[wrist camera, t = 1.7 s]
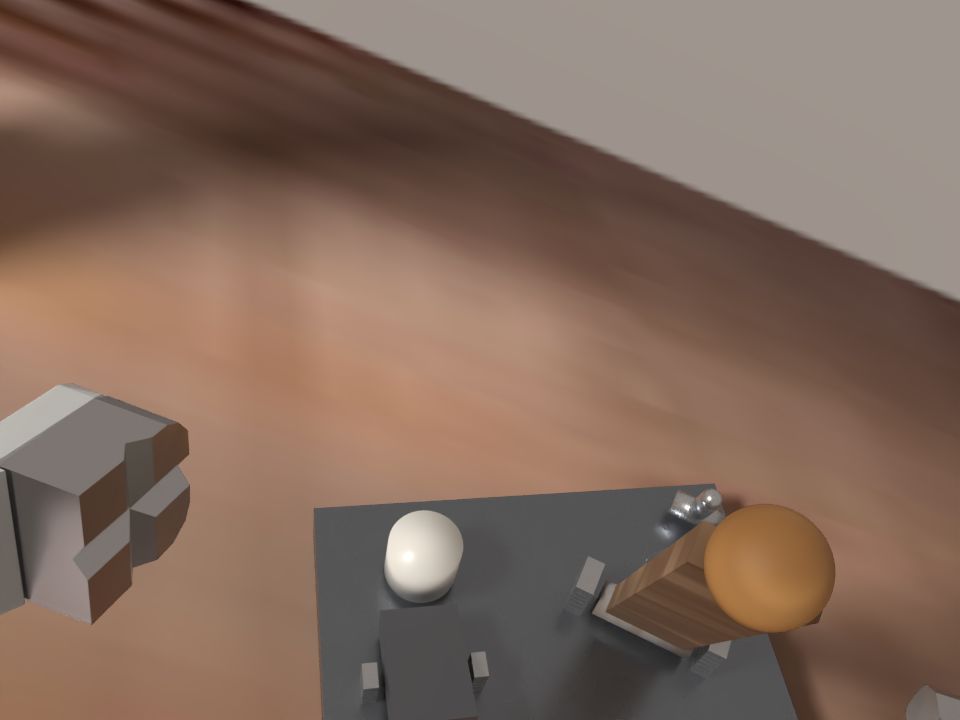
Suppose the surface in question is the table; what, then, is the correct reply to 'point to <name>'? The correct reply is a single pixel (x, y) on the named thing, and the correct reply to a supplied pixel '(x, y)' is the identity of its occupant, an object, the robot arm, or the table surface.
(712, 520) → the stub toggle
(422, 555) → the button
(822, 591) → the lever
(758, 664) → the panel
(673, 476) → the table surface
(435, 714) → the block
